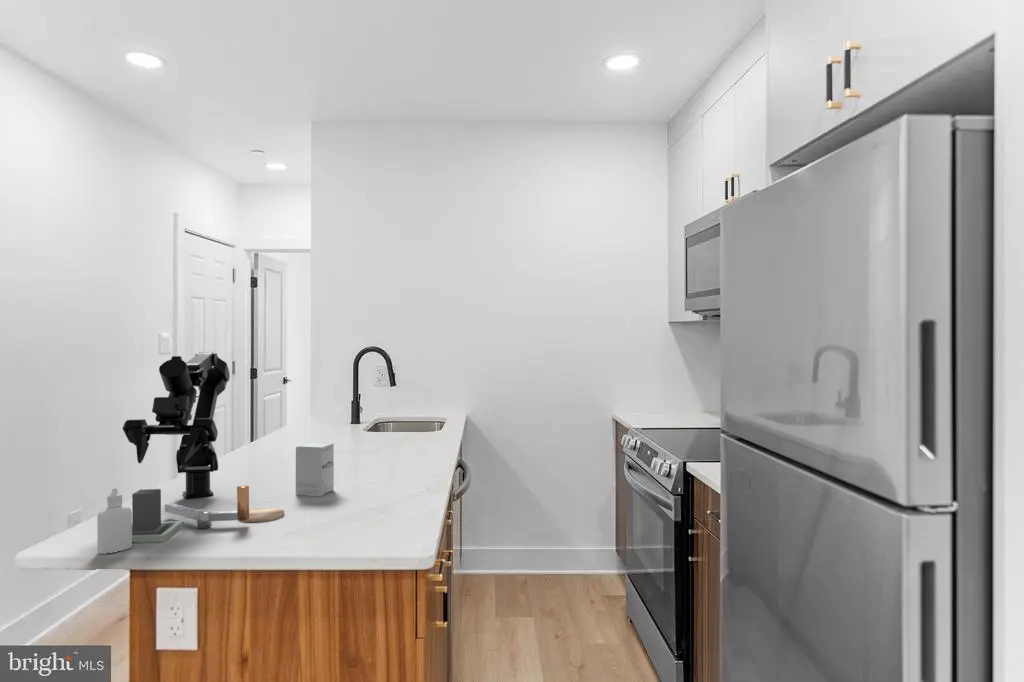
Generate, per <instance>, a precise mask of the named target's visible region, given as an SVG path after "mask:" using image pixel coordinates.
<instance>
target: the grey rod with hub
mask: <svg viewBox="0 0 1024 682" xmlns="http://www.w3.org/2000/svg"><path fill="white" fill-rule="evenodd" d="M236 504H237V505H236V508H237V509H236V510H228V511H227V510H226V511H225V510H223V511H211V510H201V509H197V508H193V507H188V506H185V505H180V504H177V503H174V502H171V503H170V502H169V503H166V504H164V512H165V513H168V514H173V515H176V516H180V517H182V518H183V517H184V518H188V519H191V520H195V521H196V528H198V529H207V528H210V527H212V525H213V524H212V522H223V521H225V522H226V521H229V522H230V521H240V522H242V521H244V520H248V519H249V510H250V486H249V485H239V486H236Z"/></svg>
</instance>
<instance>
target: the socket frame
mask: <svg viewBox="0 0 1024 682" xmlns="http://www.w3.org/2000/svg"><path fill="white" fill-rule="evenodd" d="M162 523H168V528H169V529H167V530H166V531H165V532H163V533H162V534H157V535H132V542H135V543H134V544H136V543H137V542H143V543H159V542H161V543H162V542H164V541H165V542H166V541H167V540H168V539H170V538H171V537H172V536H174V535H175V534H176V533H177V532H178V531H179V530H181V529H182V528H183V527H184V521H183V520H177V521H176V520H175V521H161V524H162ZM181 527H182V528H181ZM132 528H133V523H132ZM180 528H181V529H180Z"/></svg>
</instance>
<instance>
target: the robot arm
mask: <svg viewBox="0 0 1024 682" xmlns="http://www.w3.org/2000/svg"><path fill="white" fill-rule="evenodd" d="M158 372H159V373H160V378H161V381H162V383H163V386H164V388H165V389H164V390H165V391H166V392H168V396H156V397H154V398H153V403H152V410H151V412H152V413H154V414H155V417H154V418H155V421H156V423H157V422H158V424H148V423H147V421H146V419H141V418H140V419H127V420H126V421H124V423H123V425H122V430H123V432H124V434H125V436H126V438H127V440H128V443H131V444H133V445H134V446H135V448H136V449H135V450H136V459H137V463H138V464H142V462H143V461H144V458H145V456H146V454H147V451H148V448H149V446H150V443H149V441H150V439H151V437H152V436H151V435H165V436H167V435H168V436H181V441H180V444H179V448H178V449H177V450H176V455H175V459H176V468H177V474H181V473H182V474H184V473H185V491H182V495H183V496H184V499H193V497H194V498H199V497H200V498H201V496H202V497H208V496H209V495H210V496H214V492H213V490H211V473H212V472H215V471H218V470H219V460H218V456H217V453H216V451H215V448H214V445H213V443H214V442H216V441H217V439H218V438H217V437H218V434H219V433H218V429H217V425H216V423H215V421H214V417H215V416H214V415H215V410H216V406H217V400H218V397H219V395H220V394H222V393H223V392H224V391H225V390H226V388H227V384H228V383H229V381H230V378H231V377H230V369H229V366H228V363H227V362H226V361H224V360H223V359H221V358H220V357H219V356H218V353H217V352H214V351H198V352H196V353H195V355H194V356H192V357H191V359H189V360H188V361H186V362H185V361H184V360H183V358H182V356H180V355H177V356H176V355H174V356H173V355H172V356H171V359H169V360H166V361H164V362H163V363H161V365H160V366H159V367H158ZM195 387H197V389H198V390H197V389H196V388H195ZM197 391H199V393H197ZM197 394H199V395H198V399H197V398H196V397H197ZM196 402H197V403H196ZM195 403H196V408H195V412H194V417H193V416H192V411H193V407H194V404H195ZM192 417H193V421H192V424H190V425H189V421H191V420H192ZM210 496H209V497H210Z"/></svg>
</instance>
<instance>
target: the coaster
mask: <svg viewBox="0 0 1024 682" xmlns="http://www.w3.org/2000/svg"><path fill="white" fill-rule="evenodd" d="M283 515H284V516H285V510H283V509H281V508H276V507H261V508H253V509H249V519H248V520H244V522H243V523H264V522H263V521H266V522H270V521H269V520H272V521H274V519H276V520H278V519H277V518H279V519H281V518H283V517H284V516H283ZM282 516H283V517H282ZM280 517H281V518H280Z"/></svg>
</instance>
